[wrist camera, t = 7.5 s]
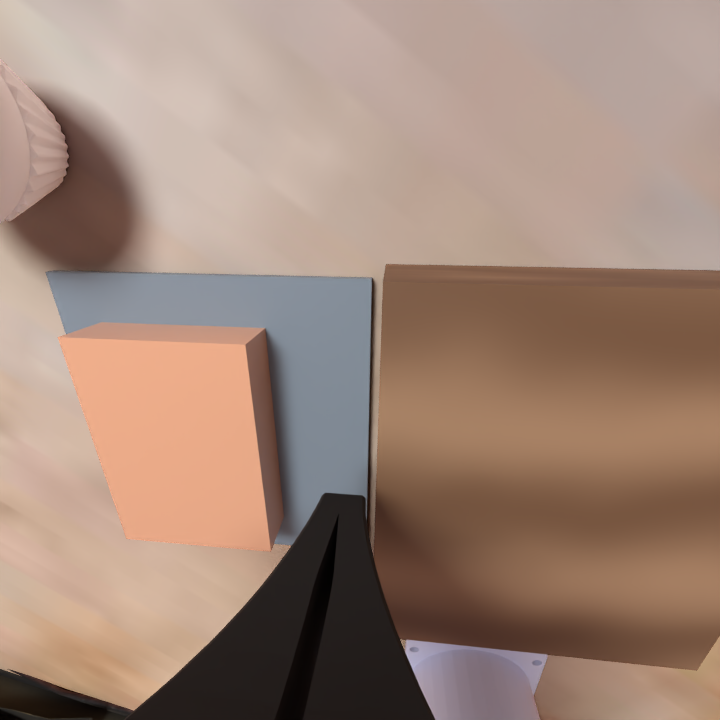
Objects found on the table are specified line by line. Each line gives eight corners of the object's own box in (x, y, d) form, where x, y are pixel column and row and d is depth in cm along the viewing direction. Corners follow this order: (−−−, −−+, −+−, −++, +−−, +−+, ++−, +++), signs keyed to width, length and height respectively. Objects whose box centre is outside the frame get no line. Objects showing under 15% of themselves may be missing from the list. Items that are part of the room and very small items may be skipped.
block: (126, 538, 16) (153, 506, 18) (270, 551, 16) (284, 516, 17) (57, 337, 12) (101, 322, 14) (245, 344, 12) (265, 327, 14)
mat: (366, 545, 18) (365, 551, 18) (136, 525, 19) (131, 531, 19) (372, 277, 13) (371, 279, 13) (54, 270, 14) (45, 272, 14)
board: (632, 574, 17) (696, 670, 14) (375, 552, 18) (371, 635, 15) (767, 271, 12) (941, 294, 8) (385, 264, 13) (383, 281, 9)
